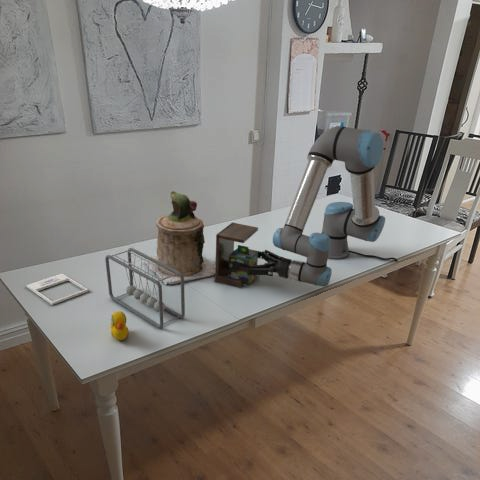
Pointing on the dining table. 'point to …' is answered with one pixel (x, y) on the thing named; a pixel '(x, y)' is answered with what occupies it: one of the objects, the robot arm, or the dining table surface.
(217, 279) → the walnut rack
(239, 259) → the chalk box
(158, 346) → the dining table surface
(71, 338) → the dining table surface
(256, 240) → the dining table surface
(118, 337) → the duckling
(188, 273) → the cookie jar
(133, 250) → the newton's cradle
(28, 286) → the photo frame
